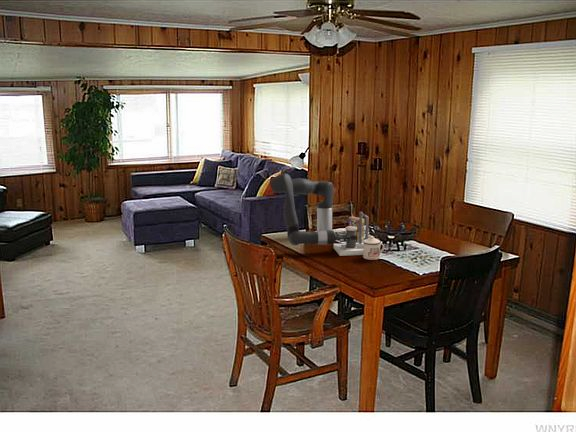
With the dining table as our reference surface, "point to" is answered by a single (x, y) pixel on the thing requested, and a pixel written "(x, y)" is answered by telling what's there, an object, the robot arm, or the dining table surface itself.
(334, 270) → the dining table surface
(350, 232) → the cord spool
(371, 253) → the teacup with lid
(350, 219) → the candy box
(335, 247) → the white stand with posts
